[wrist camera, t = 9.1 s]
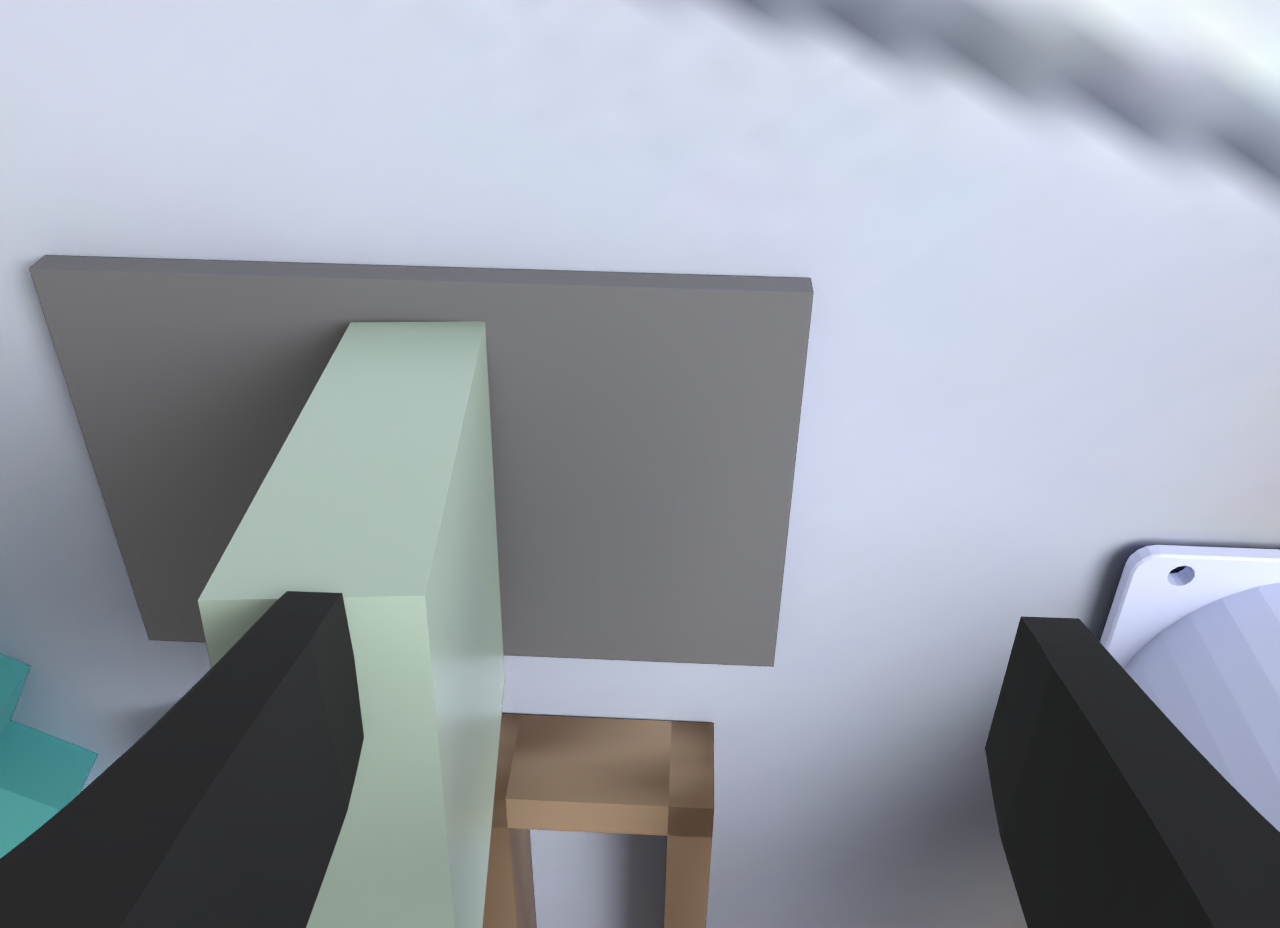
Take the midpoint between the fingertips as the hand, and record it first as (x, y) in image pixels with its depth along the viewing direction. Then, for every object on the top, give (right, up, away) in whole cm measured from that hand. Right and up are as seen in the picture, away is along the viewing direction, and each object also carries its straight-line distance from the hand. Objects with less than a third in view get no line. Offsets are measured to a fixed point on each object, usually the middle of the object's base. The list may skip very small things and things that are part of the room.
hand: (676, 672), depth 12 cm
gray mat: (-4, +2, +10) cm, 11 cm away
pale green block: (-4, +1, +9) cm, 11 cm away
